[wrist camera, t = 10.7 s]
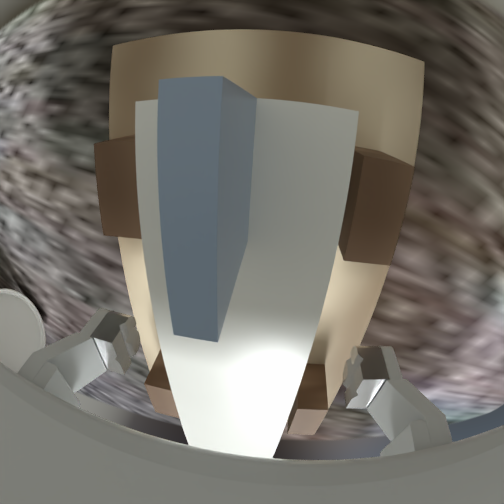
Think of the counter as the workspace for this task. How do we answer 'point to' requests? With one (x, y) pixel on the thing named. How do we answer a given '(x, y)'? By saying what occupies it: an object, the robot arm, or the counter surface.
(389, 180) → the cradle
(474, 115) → the counter surface
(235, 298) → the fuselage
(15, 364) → the spread jar
